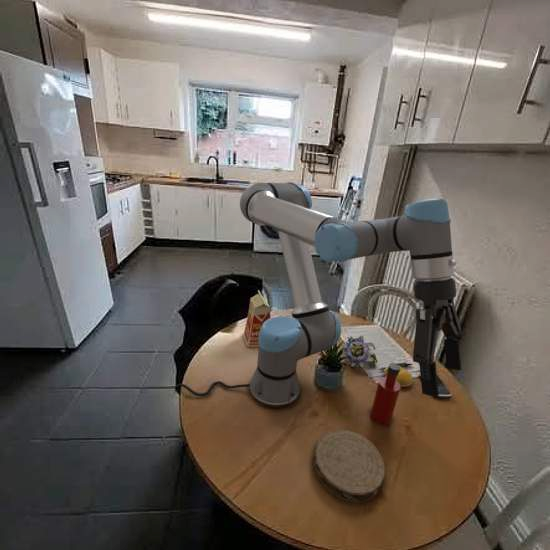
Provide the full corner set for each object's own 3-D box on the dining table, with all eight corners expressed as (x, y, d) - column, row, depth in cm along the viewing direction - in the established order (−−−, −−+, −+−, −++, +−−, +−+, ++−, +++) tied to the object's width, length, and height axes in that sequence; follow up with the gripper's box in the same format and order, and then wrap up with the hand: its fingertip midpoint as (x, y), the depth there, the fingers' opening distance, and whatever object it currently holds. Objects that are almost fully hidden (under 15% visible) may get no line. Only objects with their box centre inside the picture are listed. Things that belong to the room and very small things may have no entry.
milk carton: (243, 334, 121) (245, 288, 114) (265, 332, 124) (269, 287, 116) (248, 348, 113) (251, 300, 106) (272, 345, 116) (276, 298, 109)
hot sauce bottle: (374, 424, 86) (388, 373, 79) (367, 408, 91) (380, 359, 84) (394, 424, 86) (409, 374, 79) (386, 409, 91) (400, 360, 85)
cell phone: (432, 398, 97) (433, 395, 96) (417, 374, 107) (418, 371, 107) (451, 399, 97) (453, 395, 97) (434, 375, 107) (435, 372, 107)
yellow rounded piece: (404, 392, 99) (407, 382, 97) (379, 376, 105) (382, 366, 103) (416, 381, 104) (419, 371, 102) (392, 367, 110) (394, 357, 108)
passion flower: (350, 378, 111) (334, 353, 107) (355, 356, 119) (340, 333, 116) (380, 373, 104) (364, 347, 101) (383, 351, 113) (368, 326, 110)
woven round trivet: (365, 435, 82) (367, 427, 81) (394, 498, 68) (398, 489, 66) (307, 440, 80) (308, 431, 78) (325, 506, 65) (327, 497, 64)
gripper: (429, 290, 50) (441, 414, 52) (472, 268, 67) (480, 362, 69) (385, 290, 56) (397, 402, 58) (436, 270, 73) (444, 357, 74)
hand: (443, 380), depth 63 cm, fingers open, 13 cm apart
